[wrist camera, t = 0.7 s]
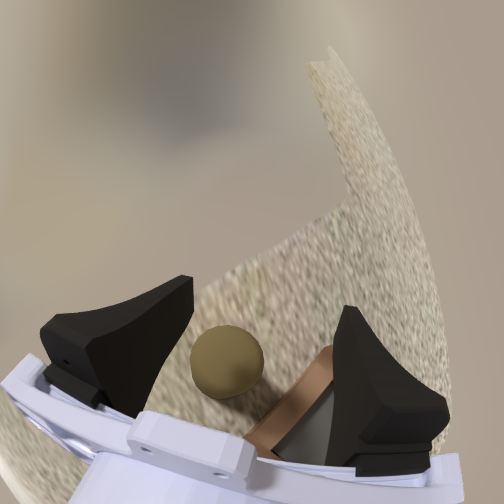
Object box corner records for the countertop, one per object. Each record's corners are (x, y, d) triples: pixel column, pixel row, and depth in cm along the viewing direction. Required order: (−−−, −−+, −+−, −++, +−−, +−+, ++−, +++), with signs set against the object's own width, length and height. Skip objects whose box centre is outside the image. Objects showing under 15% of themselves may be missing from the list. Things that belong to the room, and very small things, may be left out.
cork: (262, 378, 27) (292, 369, 18) (213, 410, 25) (216, 420, 15) (229, 332, 29) (240, 298, 20) (180, 361, 27) (164, 342, 17)
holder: (331, 515, 20) (338, 521, 18) (230, 449, 23) (232, 453, 21) (406, 418, 26) (416, 418, 24) (324, 347, 30) (331, 344, 28)
